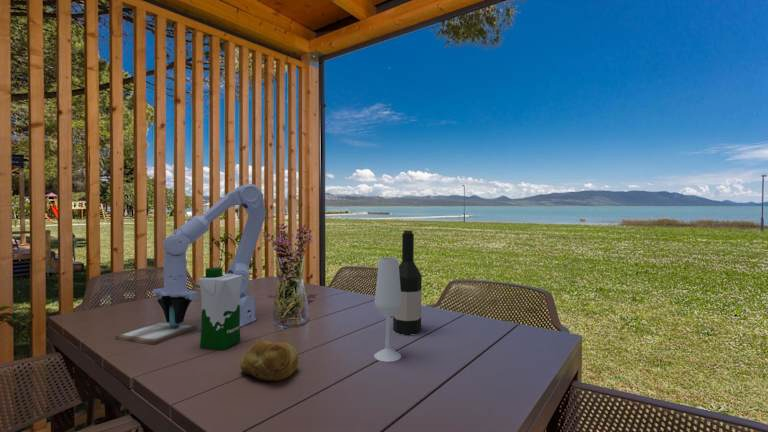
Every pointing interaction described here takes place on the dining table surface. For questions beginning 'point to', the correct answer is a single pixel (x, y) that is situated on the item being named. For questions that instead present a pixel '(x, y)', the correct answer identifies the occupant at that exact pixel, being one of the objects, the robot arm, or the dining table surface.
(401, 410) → the dining table surface
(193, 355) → the dining table surface
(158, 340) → the writing board
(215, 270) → the milk carton
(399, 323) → the wine bottle
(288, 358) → the bread roll
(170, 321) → the marker
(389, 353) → the champagne flute
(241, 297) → the robot arm
